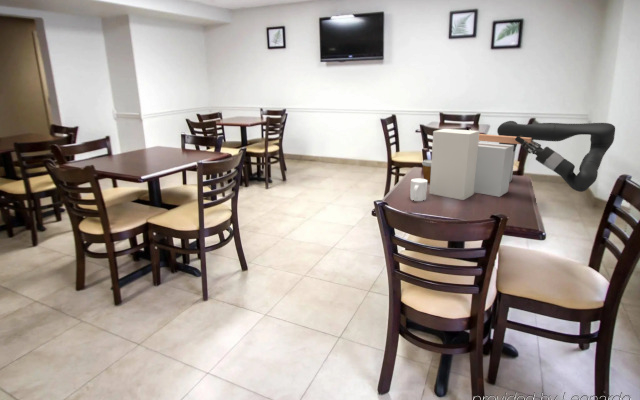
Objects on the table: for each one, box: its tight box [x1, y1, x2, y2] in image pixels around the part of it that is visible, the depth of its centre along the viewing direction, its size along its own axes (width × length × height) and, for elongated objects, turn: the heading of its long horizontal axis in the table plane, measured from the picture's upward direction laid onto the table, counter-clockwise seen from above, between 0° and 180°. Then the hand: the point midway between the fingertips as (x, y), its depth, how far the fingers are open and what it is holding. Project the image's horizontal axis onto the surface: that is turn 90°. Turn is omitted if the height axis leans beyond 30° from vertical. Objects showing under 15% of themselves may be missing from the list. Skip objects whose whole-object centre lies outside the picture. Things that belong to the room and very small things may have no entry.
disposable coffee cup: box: [421, 159, 432, 184], centre depth 218 cm, size 10×10×12 cm
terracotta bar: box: [479, 133, 533, 145], centre depth 189 cm, size 3×27×3 cm, turn 47°
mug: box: [409, 177, 428, 202], centre depth 188 cm, size 12×9×8 cm
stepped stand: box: [429, 128, 514, 201], centre depth 193 cm, size 28×30×32 cm
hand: (517, 137), depth 183 cm, fingers closed on terracotta bar, 3 cm apart
